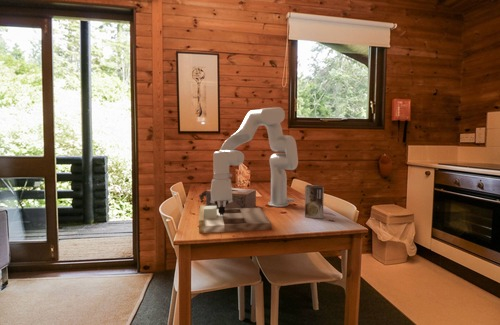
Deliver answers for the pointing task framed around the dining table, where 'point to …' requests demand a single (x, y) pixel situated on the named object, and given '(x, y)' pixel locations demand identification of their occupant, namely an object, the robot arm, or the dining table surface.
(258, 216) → the box
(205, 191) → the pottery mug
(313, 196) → the coffee box
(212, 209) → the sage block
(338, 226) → the dining table surface
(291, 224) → the dining table surface
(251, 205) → the tissue box cover
